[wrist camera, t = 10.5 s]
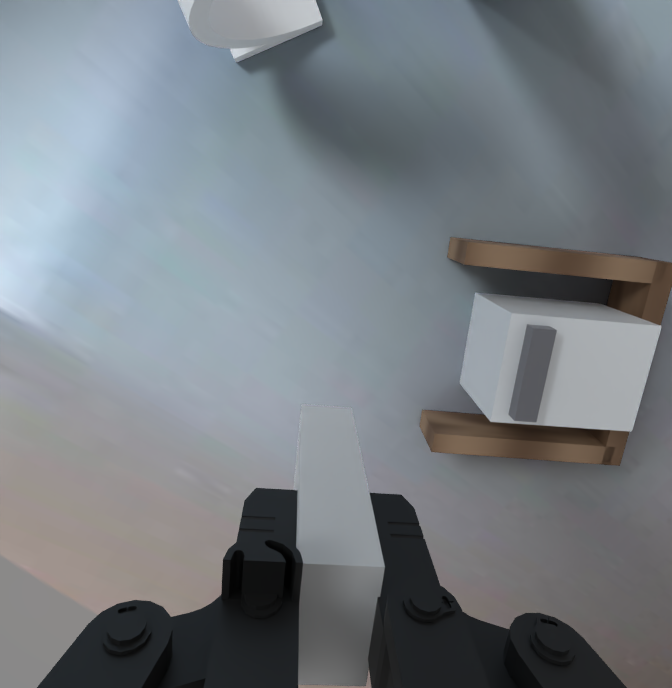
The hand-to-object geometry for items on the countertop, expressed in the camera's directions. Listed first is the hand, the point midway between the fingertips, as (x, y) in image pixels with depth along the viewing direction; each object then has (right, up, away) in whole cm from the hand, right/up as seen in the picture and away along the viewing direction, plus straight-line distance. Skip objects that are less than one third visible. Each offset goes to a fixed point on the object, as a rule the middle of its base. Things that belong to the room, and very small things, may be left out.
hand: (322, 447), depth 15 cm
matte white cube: (+13, +3, +17) cm, 22 cm away
